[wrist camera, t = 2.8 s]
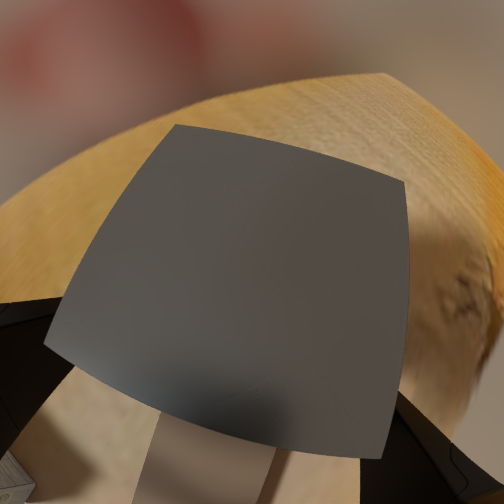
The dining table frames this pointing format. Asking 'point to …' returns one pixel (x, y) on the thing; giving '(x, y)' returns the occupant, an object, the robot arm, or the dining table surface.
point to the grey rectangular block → (249, 293)
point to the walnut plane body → (201, 466)
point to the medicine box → (14, 481)
